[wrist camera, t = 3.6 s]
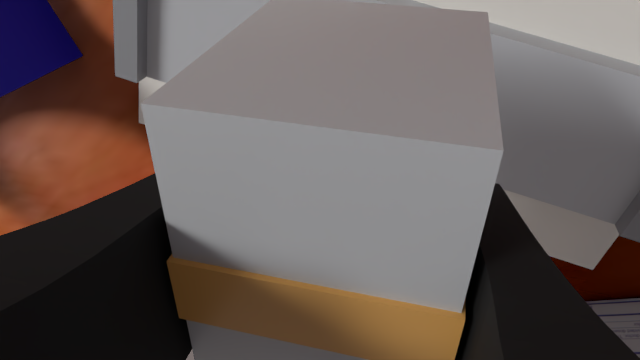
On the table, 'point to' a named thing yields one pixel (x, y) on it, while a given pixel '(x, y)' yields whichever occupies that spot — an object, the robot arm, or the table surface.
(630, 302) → the medicine box
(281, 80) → the block
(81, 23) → the table surface
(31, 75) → the cable clip
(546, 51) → the rail board
